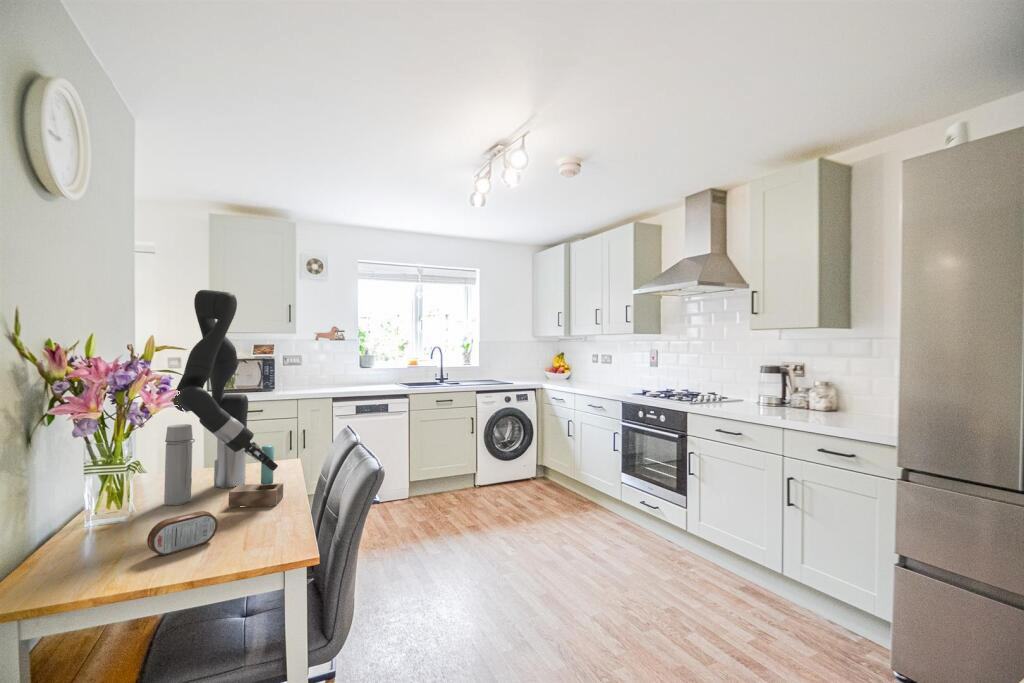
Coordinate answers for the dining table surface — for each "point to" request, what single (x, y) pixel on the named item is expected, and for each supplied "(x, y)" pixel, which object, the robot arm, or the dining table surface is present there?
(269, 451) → the peg
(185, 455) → the water bottle
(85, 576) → the dining table surface
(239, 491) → the socket
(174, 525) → the tin
